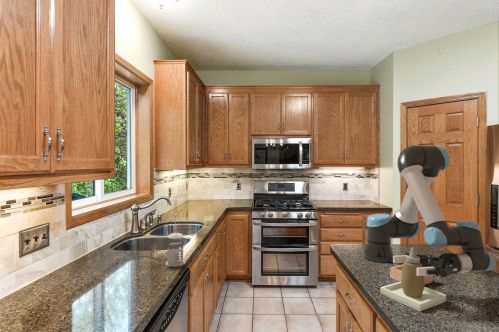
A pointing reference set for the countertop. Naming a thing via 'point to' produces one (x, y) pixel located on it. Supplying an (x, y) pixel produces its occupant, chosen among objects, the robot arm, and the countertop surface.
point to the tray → (420, 303)
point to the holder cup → (397, 274)
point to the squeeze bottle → (412, 276)
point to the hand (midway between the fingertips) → (404, 265)
